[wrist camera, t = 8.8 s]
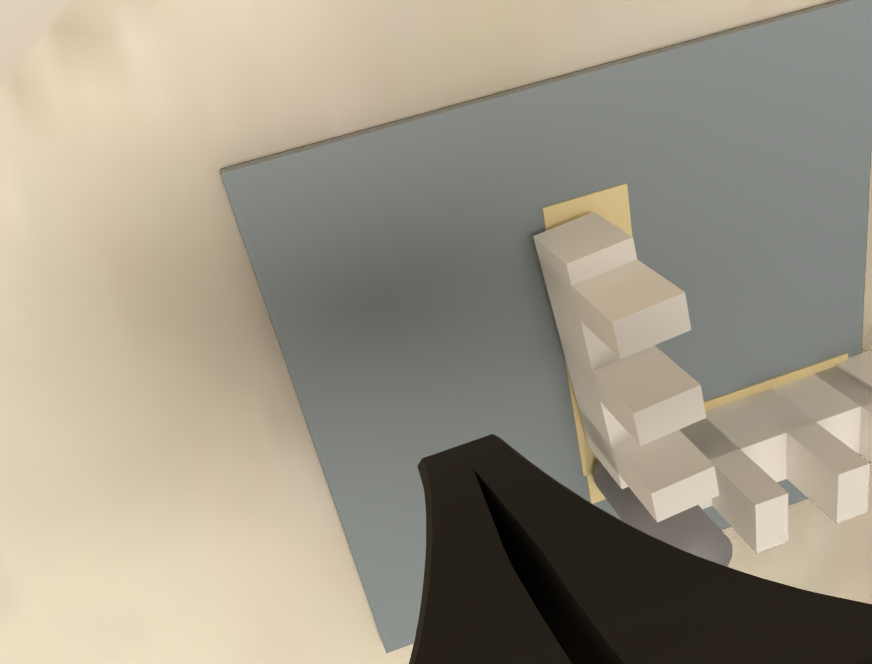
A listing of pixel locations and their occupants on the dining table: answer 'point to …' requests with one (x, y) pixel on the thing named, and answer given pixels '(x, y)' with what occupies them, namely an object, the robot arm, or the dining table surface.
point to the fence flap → (631, 382)
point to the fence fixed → (791, 450)
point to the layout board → (521, 271)
